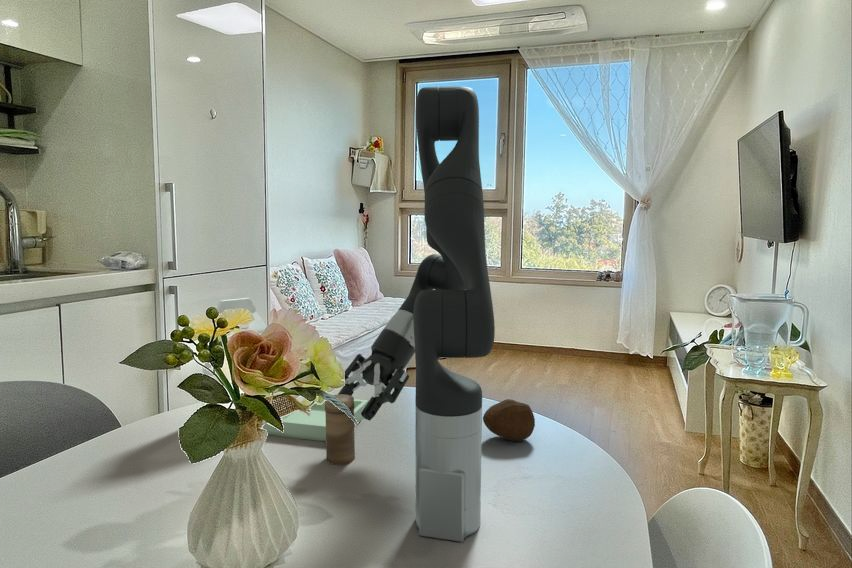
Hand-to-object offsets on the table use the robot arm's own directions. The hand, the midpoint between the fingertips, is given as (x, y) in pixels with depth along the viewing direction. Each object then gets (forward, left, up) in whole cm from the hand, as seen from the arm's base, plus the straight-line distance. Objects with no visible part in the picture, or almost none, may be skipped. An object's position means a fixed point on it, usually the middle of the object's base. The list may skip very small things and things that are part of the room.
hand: (351, 411), depth 99 cm
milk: (+9, +29, -8) cm, 31 cm away
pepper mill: (-2, +1, -8) cm, 9 cm away
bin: (+12, +12, -8) cm, 19 cm away
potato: (+14, -27, -8) cm, 31 cm away
